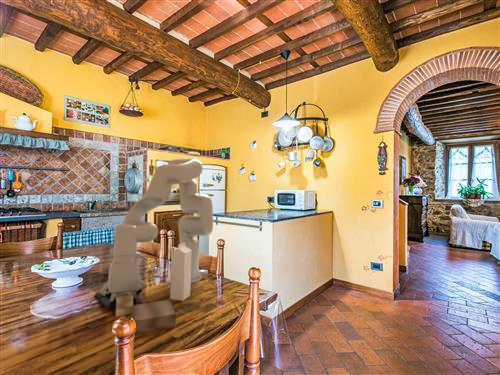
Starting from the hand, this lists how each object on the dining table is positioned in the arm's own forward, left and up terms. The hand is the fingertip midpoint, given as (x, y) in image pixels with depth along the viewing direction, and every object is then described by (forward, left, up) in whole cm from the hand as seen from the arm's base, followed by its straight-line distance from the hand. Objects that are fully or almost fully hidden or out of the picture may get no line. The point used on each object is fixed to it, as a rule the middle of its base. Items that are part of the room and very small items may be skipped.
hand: (123, 309), depth 92 cm
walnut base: (-9, +12, -1) cm, 15 cm away
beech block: (0, +1, -1) cm, 1 cm away
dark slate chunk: (+2, -13, -1) cm, 13 cm away
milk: (-21, -5, -1) cm, 22 cm away
